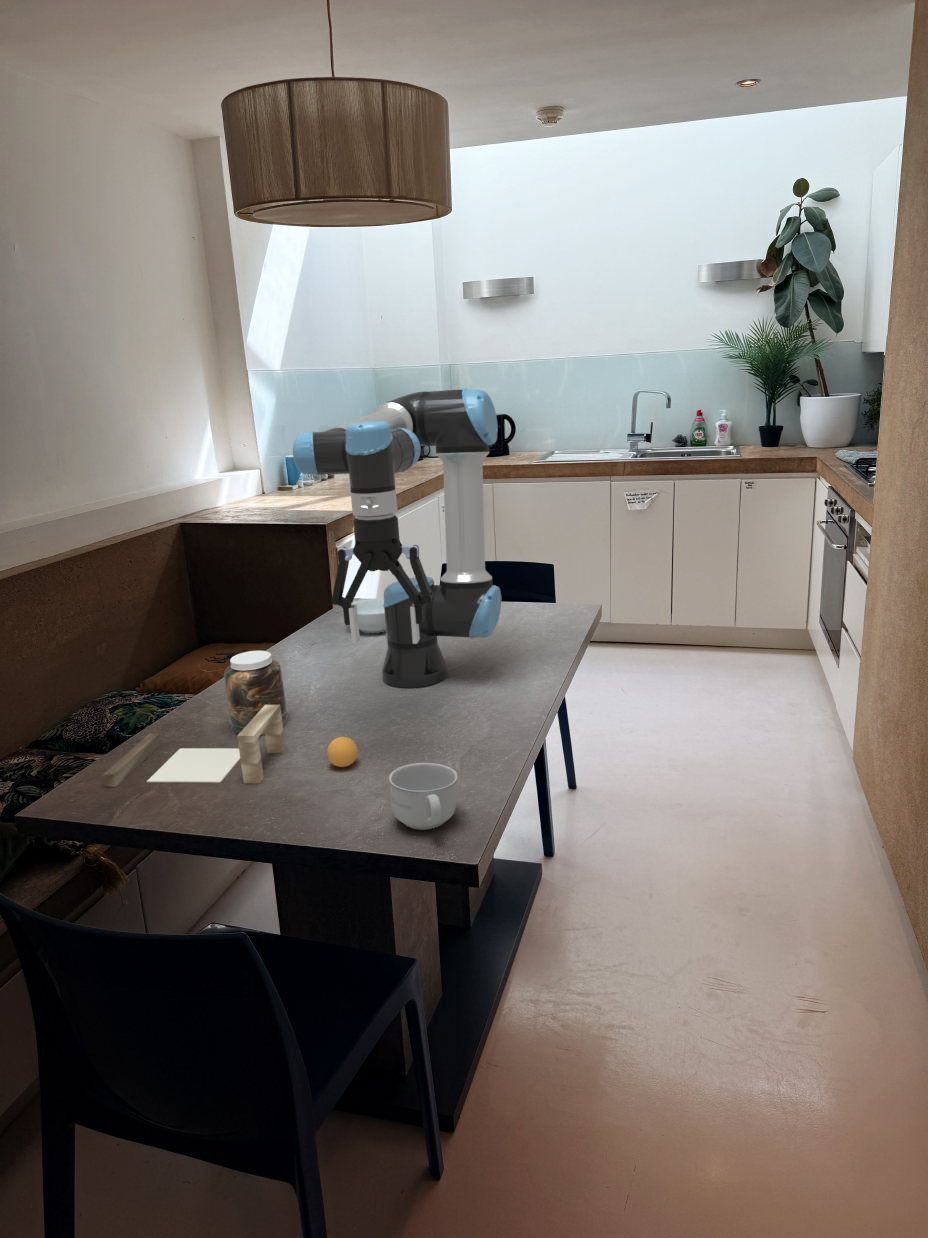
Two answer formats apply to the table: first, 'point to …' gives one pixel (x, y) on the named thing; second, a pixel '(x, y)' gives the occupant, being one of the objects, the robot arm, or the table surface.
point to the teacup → (423, 794)
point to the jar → (253, 687)
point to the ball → (342, 752)
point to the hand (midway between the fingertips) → (385, 641)
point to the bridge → (249, 742)
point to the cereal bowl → (371, 615)
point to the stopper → (131, 760)
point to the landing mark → (198, 765)
